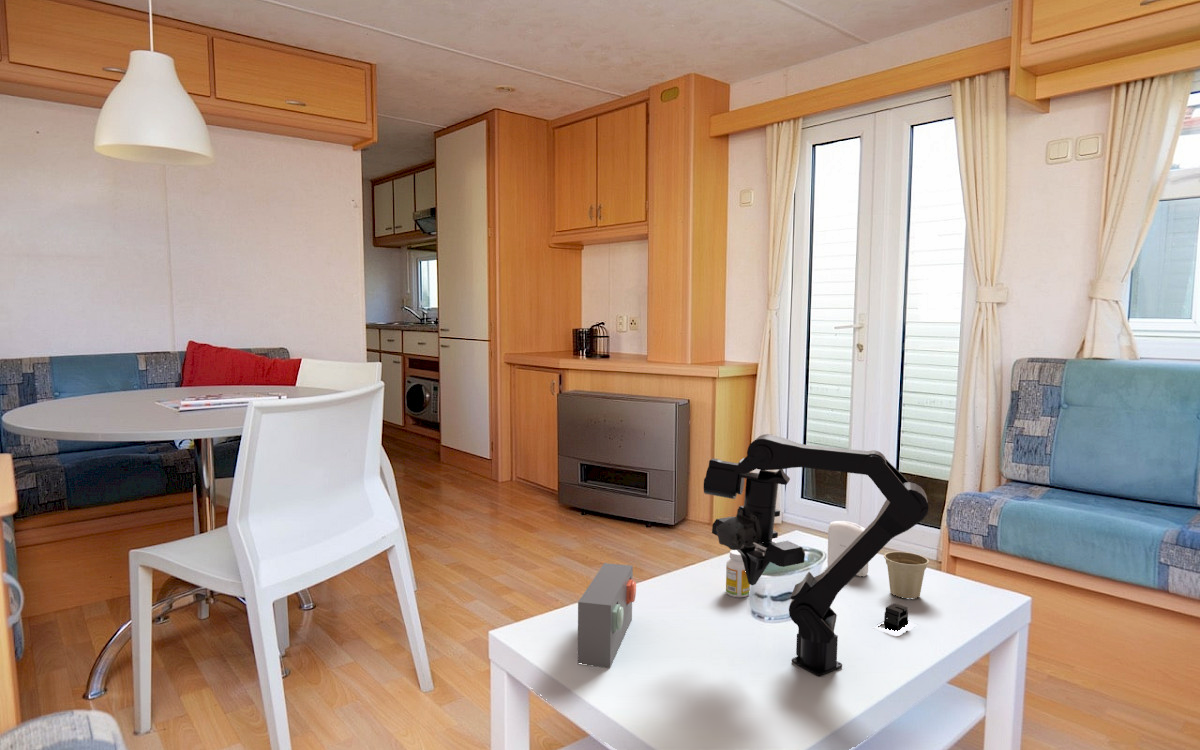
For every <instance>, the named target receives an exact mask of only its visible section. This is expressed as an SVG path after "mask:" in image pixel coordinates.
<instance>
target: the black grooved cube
mask: <svg viewBox="0 0 1200 750" xmlns="http://www.w3.org/2000/svg"><path fill="white" fill-rule="evenodd" d="M908 621H909V609H908V606H906V605H905V606H904V605H901V604H898V603H896V602H895V603H891V604H890V605H887V606H886V607H885V611H884V620H883V622H884V624H881V625H880V626H878V628H879V627H881V628H885V629H887V628H888V629H889V630H891V629H892V630H894V631H895V630H897V631H898V630H900V629H901V628H902V627H905V625H907V624H908Z"/></svg>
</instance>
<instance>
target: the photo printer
mask: <svg viewBox="0 0 1200 750" xmlns="http://www.w3.org/2000/svg"><path fill="white" fill-rule="evenodd" d="M828 525H829V526H828V530H827V566H828V567H829V566H830V565H831V564H832V563H833V562H834V561H835V560H836V559H837V558H838V557H839V556H840V555H841V554H842V553H843V552H844V551H845V550H846V549H847V548H848V547H849V546H850V545H851V544H852V543H853V542H854V540H855V539H856V538H857V537H858V536H859V535H860V534H861V533H862V532H863V531H864V530H865V529H866V528H865V527H863V526H861V525H859V524H857V523H854V522H851V521H848V520H834V521H831V522H830V524H828ZM868 573H869V562H868V563H867V564H866V565H865V566H864V567H863V568H862V569H861V570H860V571H859V572H858V573H857V574H856V575H855V576H857V577H861V576H863V577H866V576H868Z"/></svg>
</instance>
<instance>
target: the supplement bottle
mask: <svg viewBox="0 0 1200 750" xmlns="http://www.w3.org/2000/svg"><path fill="white" fill-rule="evenodd" d="M729 558H730V559H728V560H727V561H726V565H725V566H726V571H725V572H726V574H725V593H726V594H727V595H728V596H730V597H733V598H746V597H749V596H750V594H749V591H751V585H750V584H749V583H748V580H747V575H746V572H745V567H744V563H743V560H742V557H741V554H740V553H739V552H738V551H737V550H731V549H730V550H729Z"/></svg>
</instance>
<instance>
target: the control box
mask: <svg viewBox="0 0 1200 750" xmlns="http://www.w3.org/2000/svg"><path fill="white" fill-rule="evenodd" d="M633 568H634V567H633V565H630V564H618V563H610V562H609V563H606V562H604V563H603V565H602V566H601V567H600V569H599V570H598V572H597V573H596V574H595V576H594V577H593V579H592V581H591V582H590V584H589V585H588V587H587V588H586V590H585V591H584V593H583V594H582V595H581V597H580V598H579V600H578V603H577V606H578V607H577V664H578V663H582V664H587V665H586V666H589V665H593V666H592V667H597V666H599V667H598V668H606V669H611V668H612V665H613V662H614V661H615V658H616V656H617V654H618V652H619V650H618V649H620V648H621V645H622V643H623V641H622V640H624V639H625V636H626V634H627V632H626V631H628V630H629V627H630V625H631V623H632V621H633V602H630V604H628V603H626V602H627V583H628V581H629V579H632V580H633V581H634V578H633V575H634V574H633V572H634V570H633ZM616 604H620V607H623V611H624V616H623V624H622V628H621V630H617V631H616V632H615V631H613V609H614V607H615V605H616ZM627 629H628V630H627ZM625 633H626V634H625ZM621 642H622V643H621ZM617 651H618V652H617ZM613 660H614V661H613Z"/></svg>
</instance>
